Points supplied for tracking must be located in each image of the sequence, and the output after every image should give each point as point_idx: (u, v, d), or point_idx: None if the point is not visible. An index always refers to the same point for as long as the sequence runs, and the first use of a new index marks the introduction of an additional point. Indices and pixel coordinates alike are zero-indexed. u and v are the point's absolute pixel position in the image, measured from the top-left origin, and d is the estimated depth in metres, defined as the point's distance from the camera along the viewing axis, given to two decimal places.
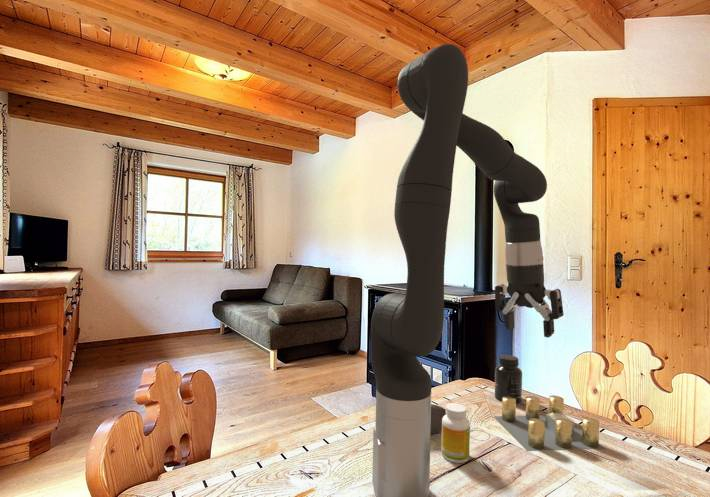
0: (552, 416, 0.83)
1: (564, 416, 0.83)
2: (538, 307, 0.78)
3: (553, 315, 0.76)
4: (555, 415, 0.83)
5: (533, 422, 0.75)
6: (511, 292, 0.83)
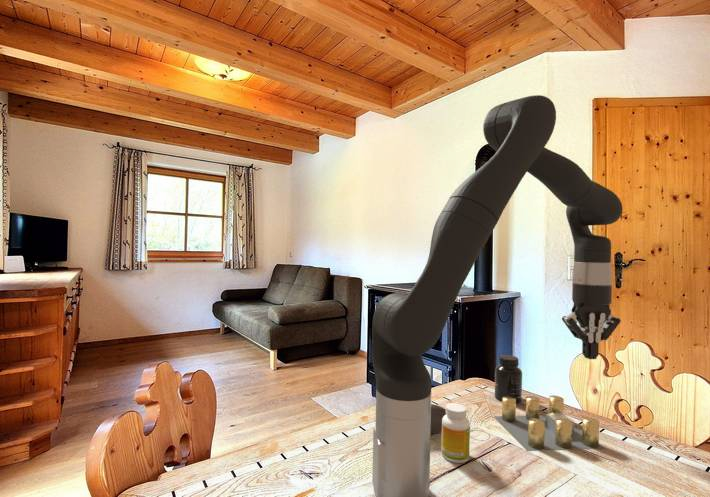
0: (552, 416, 0.83)
1: (564, 416, 0.83)
2: (602, 329, 0.81)
3: (604, 336, 0.82)
4: (555, 415, 0.83)
5: (533, 422, 0.75)
6: (583, 312, 0.81)
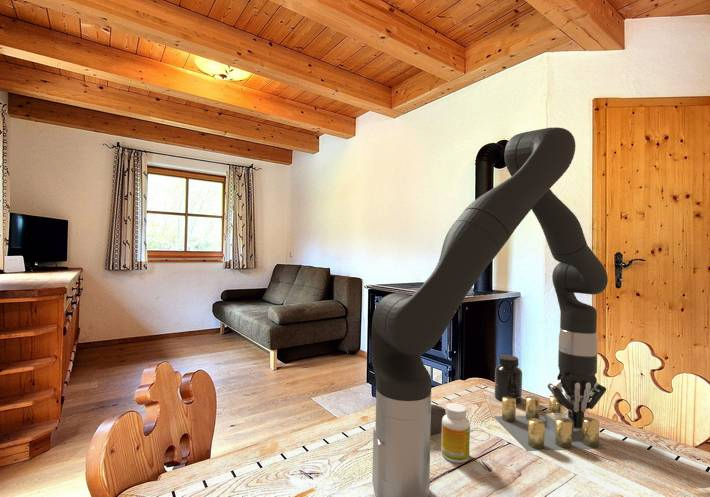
0: (551, 416, 0.83)
1: (563, 415, 0.83)
2: (587, 398, 0.81)
3: (589, 405, 0.81)
4: (555, 415, 0.83)
5: (533, 422, 0.75)
6: (569, 381, 0.81)
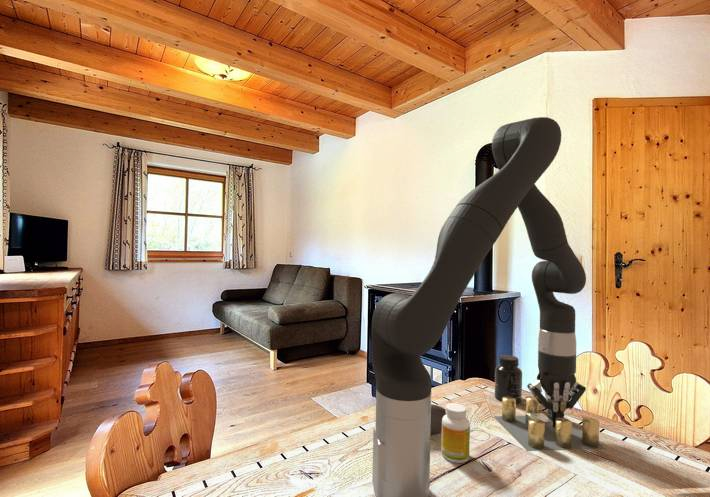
0: (531, 416, 0.83)
1: (543, 416, 0.83)
2: (566, 398, 0.80)
3: (569, 405, 0.81)
4: (535, 415, 0.83)
5: (533, 422, 0.75)
6: (548, 381, 0.81)
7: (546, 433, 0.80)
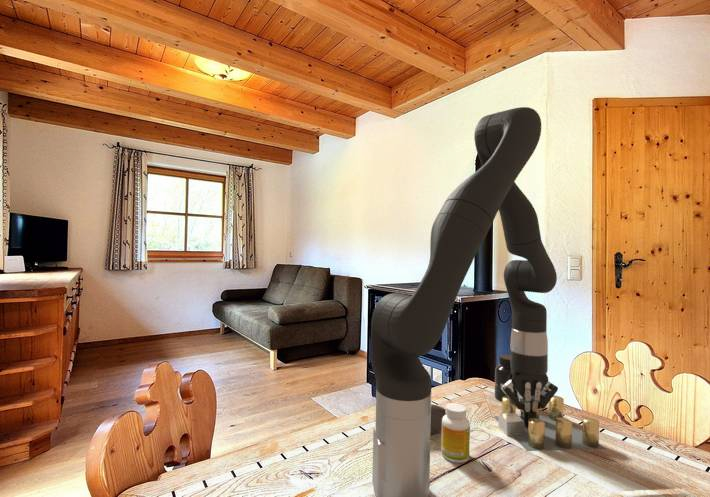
0: (503, 416, 0.82)
1: (516, 416, 0.82)
2: (538, 398, 0.80)
3: (541, 405, 0.80)
4: (507, 415, 0.83)
5: (533, 422, 0.75)
6: (520, 381, 0.80)
7: (518, 433, 0.80)
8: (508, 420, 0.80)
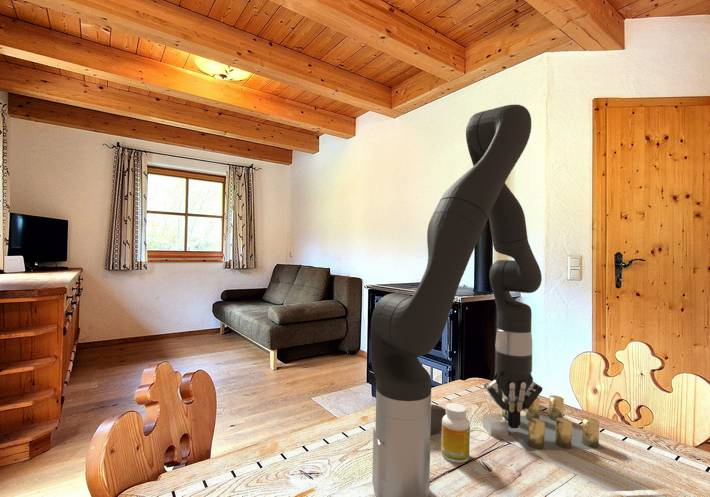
0: (488, 416, 0.82)
1: (500, 416, 0.82)
2: (522, 398, 0.80)
3: (525, 405, 0.80)
4: (492, 415, 0.83)
5: (533, 422, 0.75)
6: (504, 381, 0.80)
7: (502, 434, 0.80)
8: (492, 421, 0.80)
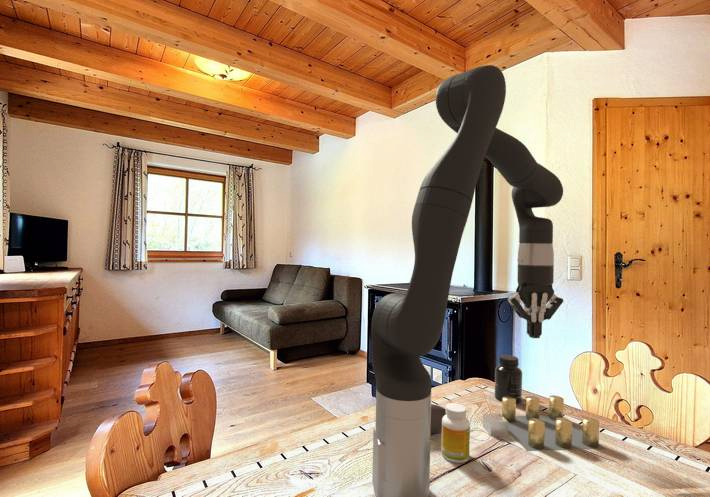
0: (488, 416, 0.82)
1: (500, 416, 0.82)
2: (544, 309, 0.83)
3: (547, 316, 0.84)
4: (491, 415, 0.83)
5: (533, 422, 0.75)
6: (526, 292, 0.83)
7: (501, 434, 0.80)
8: (492, 421, 0.80)
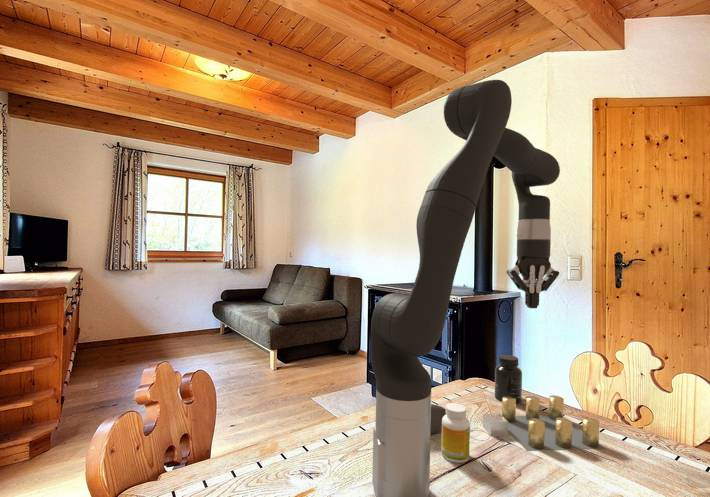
0: (488, 416, 0.82)
1: (500, 416, 0.82)
2: (541, 280, 0.89)
3: (544, 287, 0.89)
4: (491, 415, 0.83)
5: (533, 422, 0.75)
6: (525, 265, 0.89)
7: (501, 434, 0.80)
8: (492, 421, 0.80)
